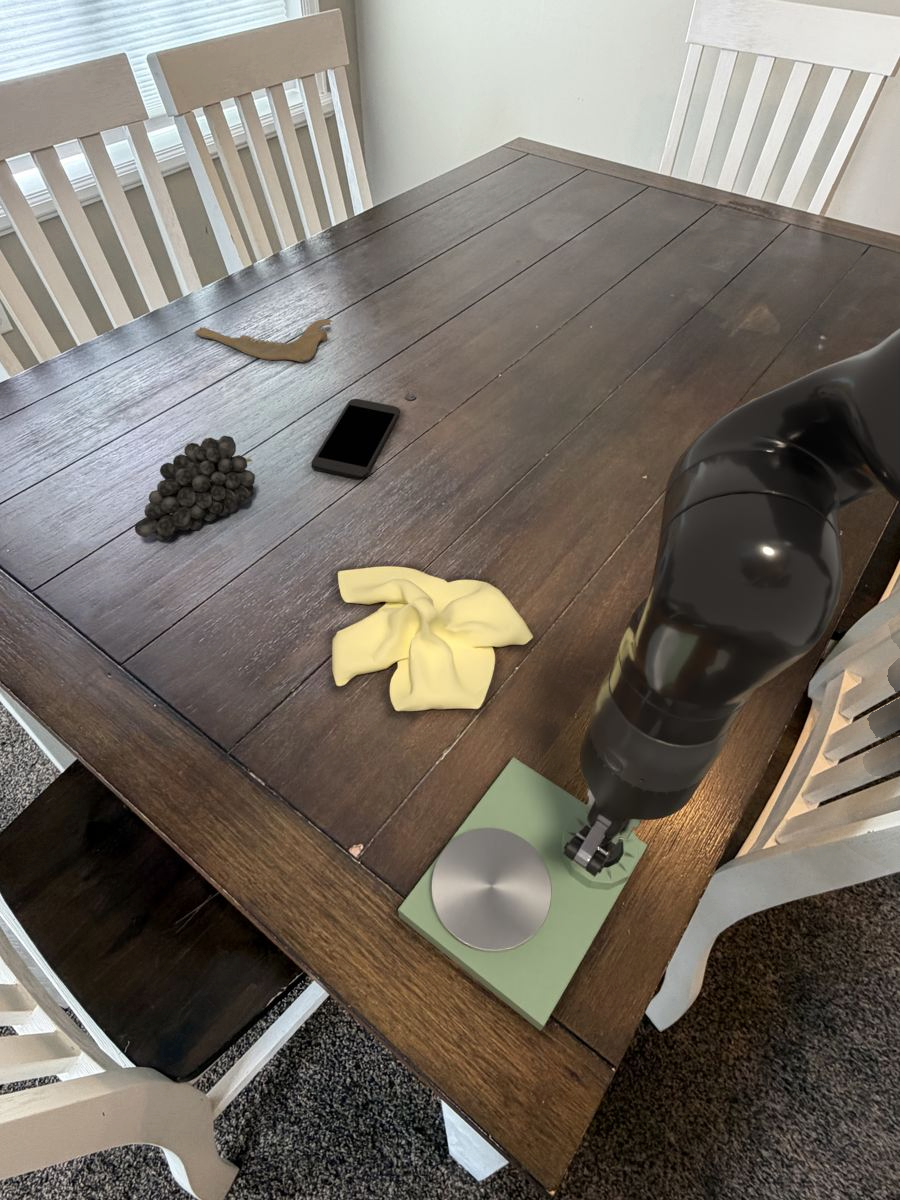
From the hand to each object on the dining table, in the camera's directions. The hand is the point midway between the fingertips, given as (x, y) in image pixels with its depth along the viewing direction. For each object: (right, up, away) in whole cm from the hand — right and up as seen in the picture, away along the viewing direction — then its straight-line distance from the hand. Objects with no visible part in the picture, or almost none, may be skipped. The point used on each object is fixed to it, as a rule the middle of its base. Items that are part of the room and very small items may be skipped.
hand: (600, 842), depth 57 cm
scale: (-6, -4, +2) cm, 7 cm away
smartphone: (-24, +40, +37) cm, 59 cm away
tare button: (0, -1, +1) cm, 2 cm away
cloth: (-15, +16, +18) cm, 28 cm away
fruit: (-41, +29, +28) cm, 57 cm away
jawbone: (-39, +58, +53) cm, 88 cm away
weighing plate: (-9, -3, -2) cm, 9 cm away
